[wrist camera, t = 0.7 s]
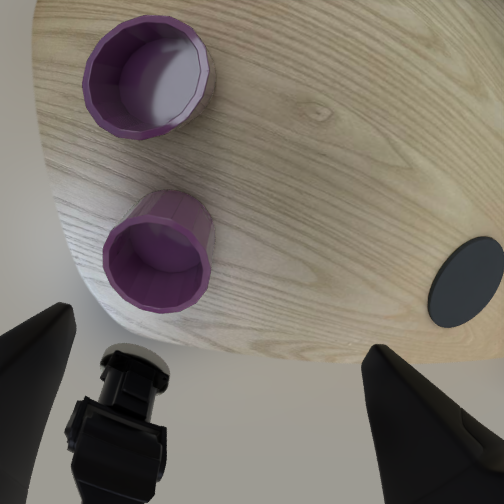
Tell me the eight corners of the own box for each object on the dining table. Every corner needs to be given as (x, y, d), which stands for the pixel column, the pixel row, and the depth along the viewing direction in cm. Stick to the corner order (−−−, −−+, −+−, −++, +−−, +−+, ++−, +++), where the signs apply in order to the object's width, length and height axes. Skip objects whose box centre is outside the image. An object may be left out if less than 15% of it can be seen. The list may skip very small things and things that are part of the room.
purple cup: (186, 286, 21) (176, 328, 17) (114, 243, 19) (88, 279, 15) (233, 222, 19) (232, 257, 15) (153, 171, 17) (129, 193, 13)
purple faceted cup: (177, 148, 17) (158, 163, 13) (100, 101, 15) (62, 104, 11) (237, 66, 14) (236, 53, 11) (154, 19, 13) (129, -3, 9)
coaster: (451, 336, 26) (453, 339, 26) (409, 299, 23) (412, 303, 23) (510, 270, 22) (513, 272, 22) (482, 214, 19) (486, 217, 19)
